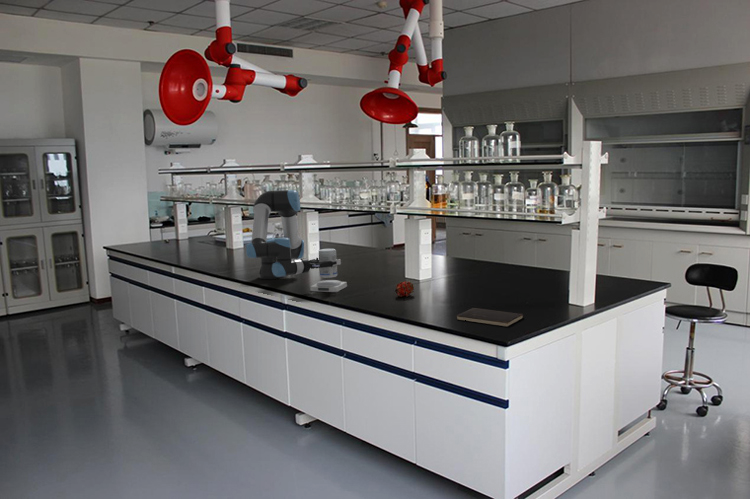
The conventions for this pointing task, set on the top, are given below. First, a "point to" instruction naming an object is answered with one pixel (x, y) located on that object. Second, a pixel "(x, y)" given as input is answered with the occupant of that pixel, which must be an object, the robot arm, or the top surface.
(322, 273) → the supplement tub
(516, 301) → the top surface
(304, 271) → the robot arm
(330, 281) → the scale
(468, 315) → the hardcover book
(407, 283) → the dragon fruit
